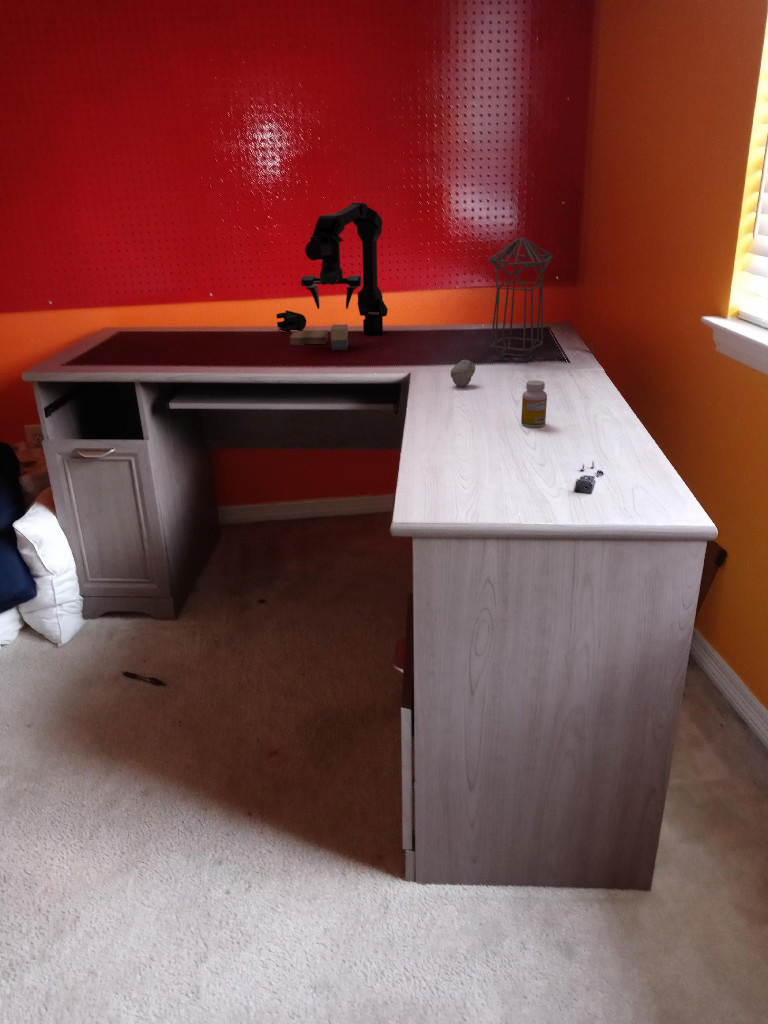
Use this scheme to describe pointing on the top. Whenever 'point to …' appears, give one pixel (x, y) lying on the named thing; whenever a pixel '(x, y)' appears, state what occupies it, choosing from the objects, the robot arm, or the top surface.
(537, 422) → the supplement bottle
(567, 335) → the top surface
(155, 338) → the top surface
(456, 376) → the grey rock
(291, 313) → the end cap
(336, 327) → the block
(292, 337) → the walnut stand
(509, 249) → the geometric lantern
